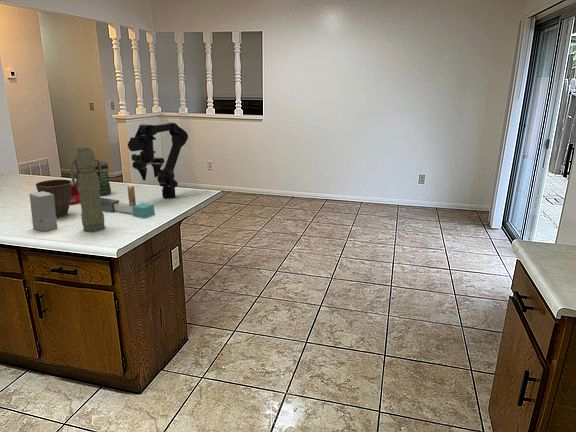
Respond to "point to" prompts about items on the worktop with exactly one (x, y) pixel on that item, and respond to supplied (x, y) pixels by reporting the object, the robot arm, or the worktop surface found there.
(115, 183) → the worktop surface
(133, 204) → the bronze post on bar
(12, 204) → the worktop surface
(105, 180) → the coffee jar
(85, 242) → the worktop surface
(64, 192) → the plant pot
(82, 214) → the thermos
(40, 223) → the skincare box
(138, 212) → the socket
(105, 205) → the grey rectangular metal block
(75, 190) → the canned food
